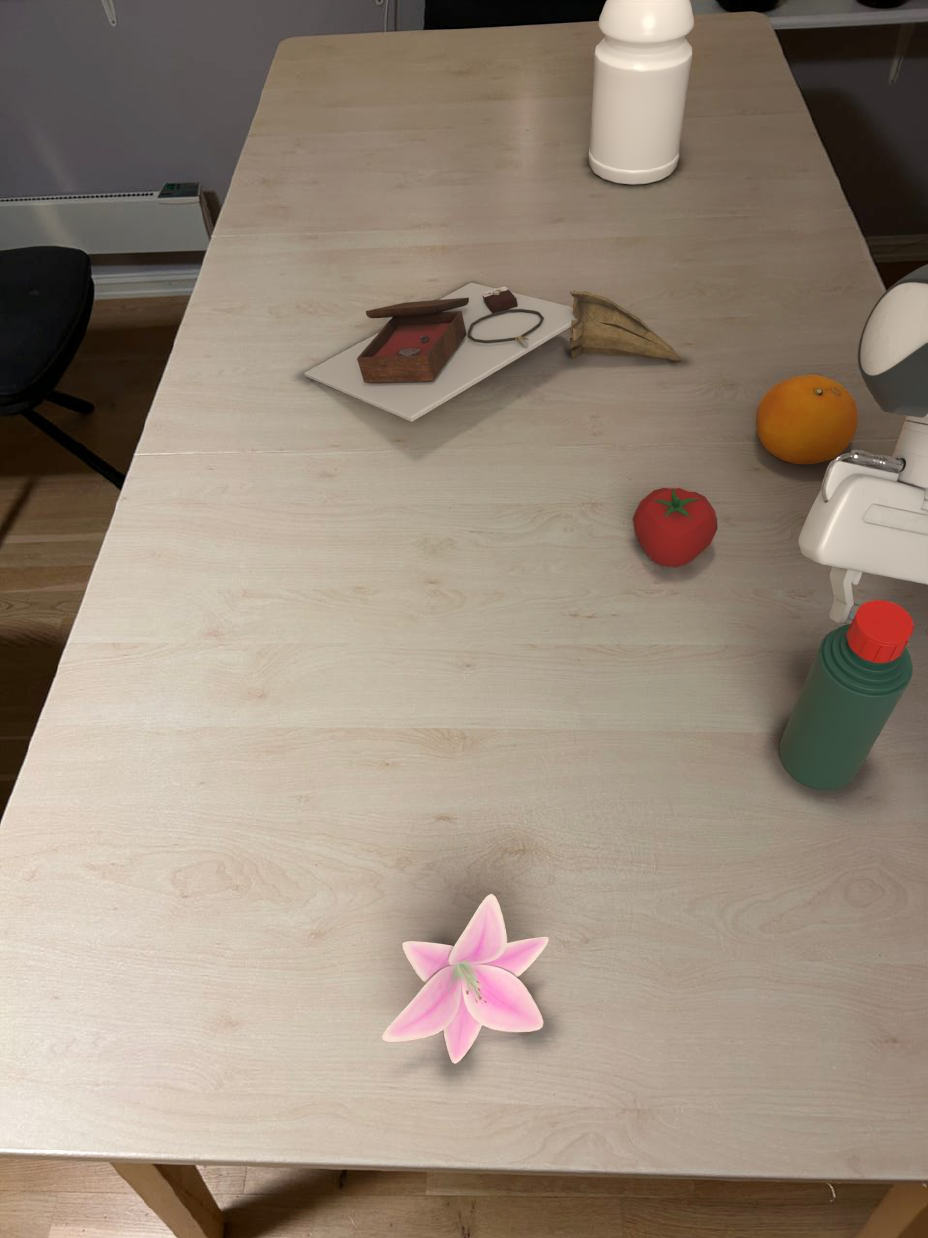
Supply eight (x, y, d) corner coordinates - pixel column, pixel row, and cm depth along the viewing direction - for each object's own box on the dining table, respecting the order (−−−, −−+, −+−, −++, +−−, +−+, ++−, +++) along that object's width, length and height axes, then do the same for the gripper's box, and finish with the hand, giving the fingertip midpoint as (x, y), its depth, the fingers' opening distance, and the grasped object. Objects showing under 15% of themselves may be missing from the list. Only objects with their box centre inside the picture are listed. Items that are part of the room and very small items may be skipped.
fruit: (859, 477, 101) (881, 418, 94) (760, 481, 101) (776, 422, 95) (834, 414, 107) (853, 356, 101) (742, 418, 107) (755, 360, 101)
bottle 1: (578, 180, 144) (588, -32, 122) (598, 139, 152) (612, -66, 130) (669, 190, 141) (696, -25, 119) (685, 148, 149) (714, -61, 127)
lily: (365, 1054, 68) (390, 1084, 59) (377, 886, 71) (402, 889, 62) (522, 1055, 70) (569, 1083, 61) (527, 893, 74) (572, 897, 65)
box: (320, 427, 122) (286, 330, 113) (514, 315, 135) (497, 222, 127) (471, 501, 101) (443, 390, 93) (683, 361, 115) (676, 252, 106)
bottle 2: (869, 744, 80) (944, 611, 66) (844, 803, 77) (917, 677, 63) (794, 711, 83) (851, 576, 68) (767, 768, 79) (820, 638, 65)
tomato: (666, 589, 92) (675, 538, 87) (614, 541, 96) (620, 490, 91) (726, 553, 95) (739, 502, 89) (673, 508, 99) (682, 457, 93)
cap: (909, 634, 67) (920, 613, 66) (893, 671, 65) (904, 651, 64) (856, 613, 69) (865, 592, 67) (839, 649, 67) (848, 628, 65)
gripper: (859, 450, 69) (800, 624, 73) (1083, 500, 74) (1016, 661, 78) (815, 438, 75) (763, 599, 79) (1025, 485, 80) (966, 636, 84)
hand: (890, 630), depth 79 cm, fingers open, 8 cm apart
